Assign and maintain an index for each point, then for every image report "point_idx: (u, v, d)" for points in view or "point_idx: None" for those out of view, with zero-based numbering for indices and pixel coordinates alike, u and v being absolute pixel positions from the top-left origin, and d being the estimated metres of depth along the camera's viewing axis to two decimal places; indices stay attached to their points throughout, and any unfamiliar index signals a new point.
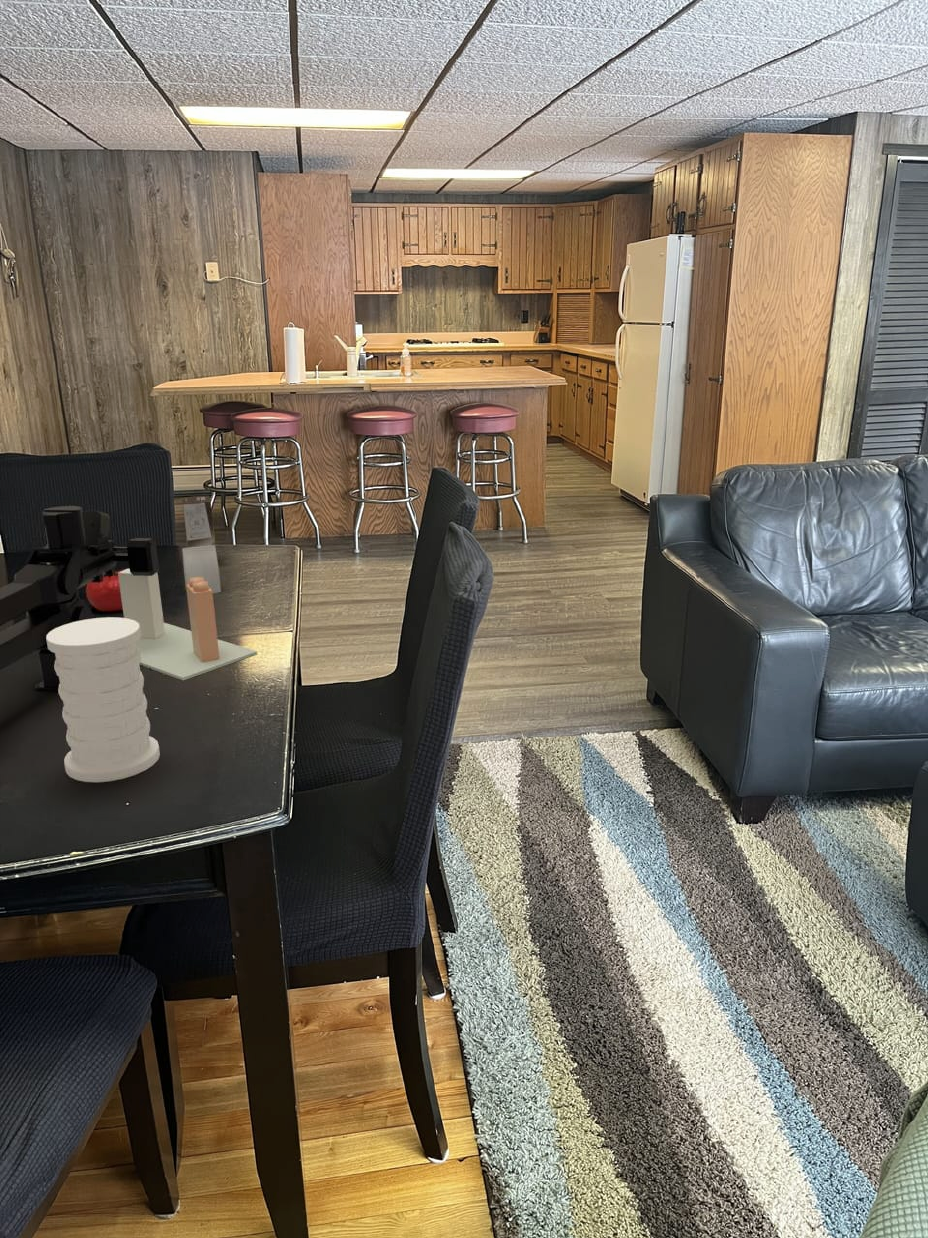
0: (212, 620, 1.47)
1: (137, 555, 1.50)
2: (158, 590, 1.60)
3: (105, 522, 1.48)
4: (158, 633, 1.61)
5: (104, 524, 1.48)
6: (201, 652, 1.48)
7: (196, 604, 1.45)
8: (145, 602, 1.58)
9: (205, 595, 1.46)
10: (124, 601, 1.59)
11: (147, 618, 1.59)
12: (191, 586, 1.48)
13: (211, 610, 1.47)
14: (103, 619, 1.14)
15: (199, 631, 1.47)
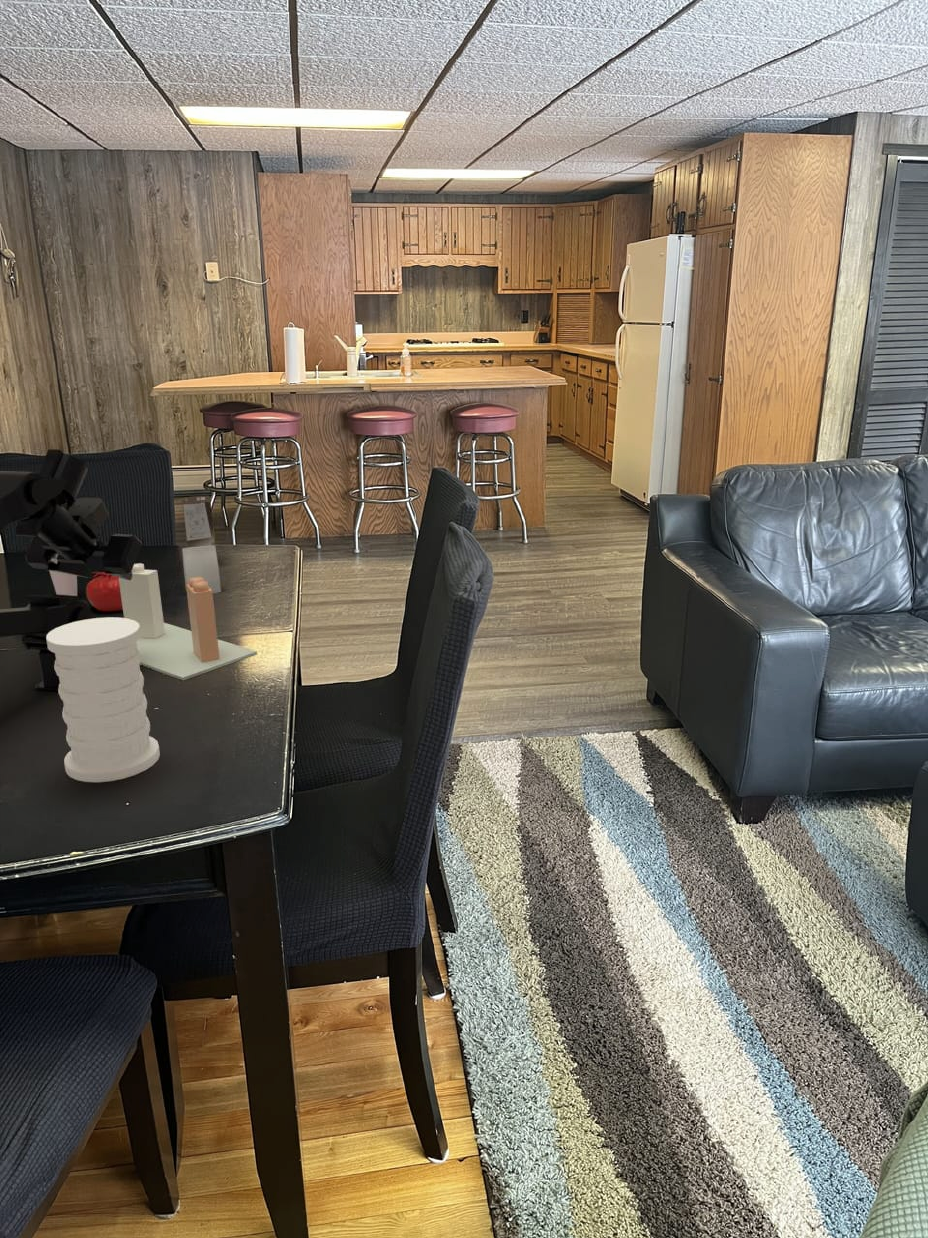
0: (212, 620, 1.47)
1: (117, 543, 1.41)
2: (158, 590, 1.60)
3: (102, 512, 1.44)
4: (158, 633, 1.61)
5: (100, 512, 1.44)
6: (201, 652, 1.48)
7: (196, 604, 1.45)
8: (145, 602, 1.58)
9: (205, 595, 1.46)
10: (124, 601, 1.59)
11: (147, 618, 1.59)
12: (191, 586, 1.48)
13: (211, 610, 1.47)
14: (103, 619, 1.14)
15: (199, 631, 1.47)
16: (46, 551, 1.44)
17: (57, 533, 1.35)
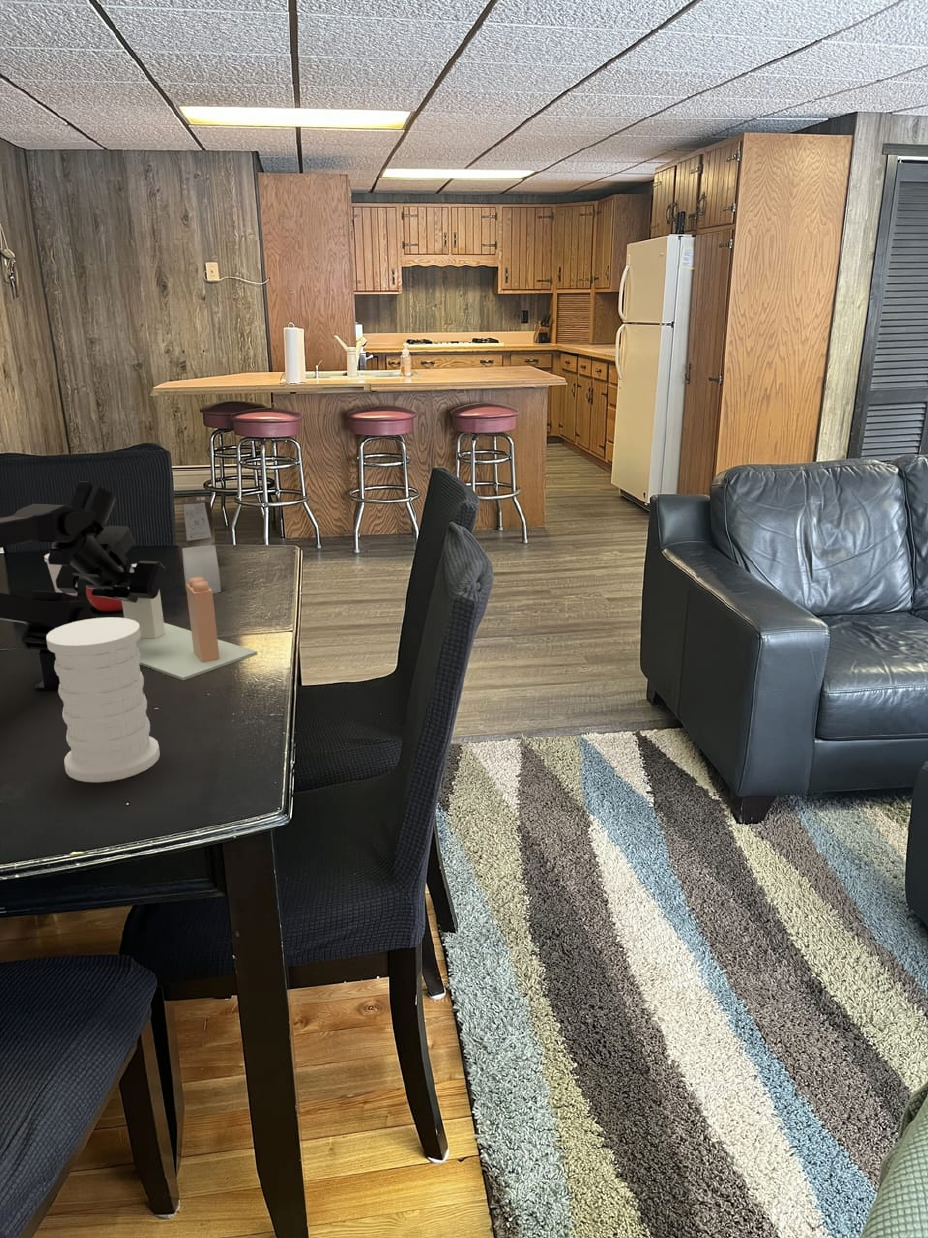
0: (212, 620, 1.47)
1: (143, 570, 1.48)
2: None
3: (128, 539, 1.51)
4: (158, 633, 1.61)
5: (127, 539, 1.51)
6: (201, 652, 1.48)
7: (196, 604, 1.45)
8: (145, 602, 1.58)
9: (205, 595, 1.46)
10: (124, 601, 1.59)
11: (147, 618, 1.59)
12: (191, 586, 1.48)
13: (211, 610, 1.47)
14: (103, 619, 1.14)
15: (199, 631, 1.47)
16: (75, 577, 1.51)
17: (87, 561, 1.42)
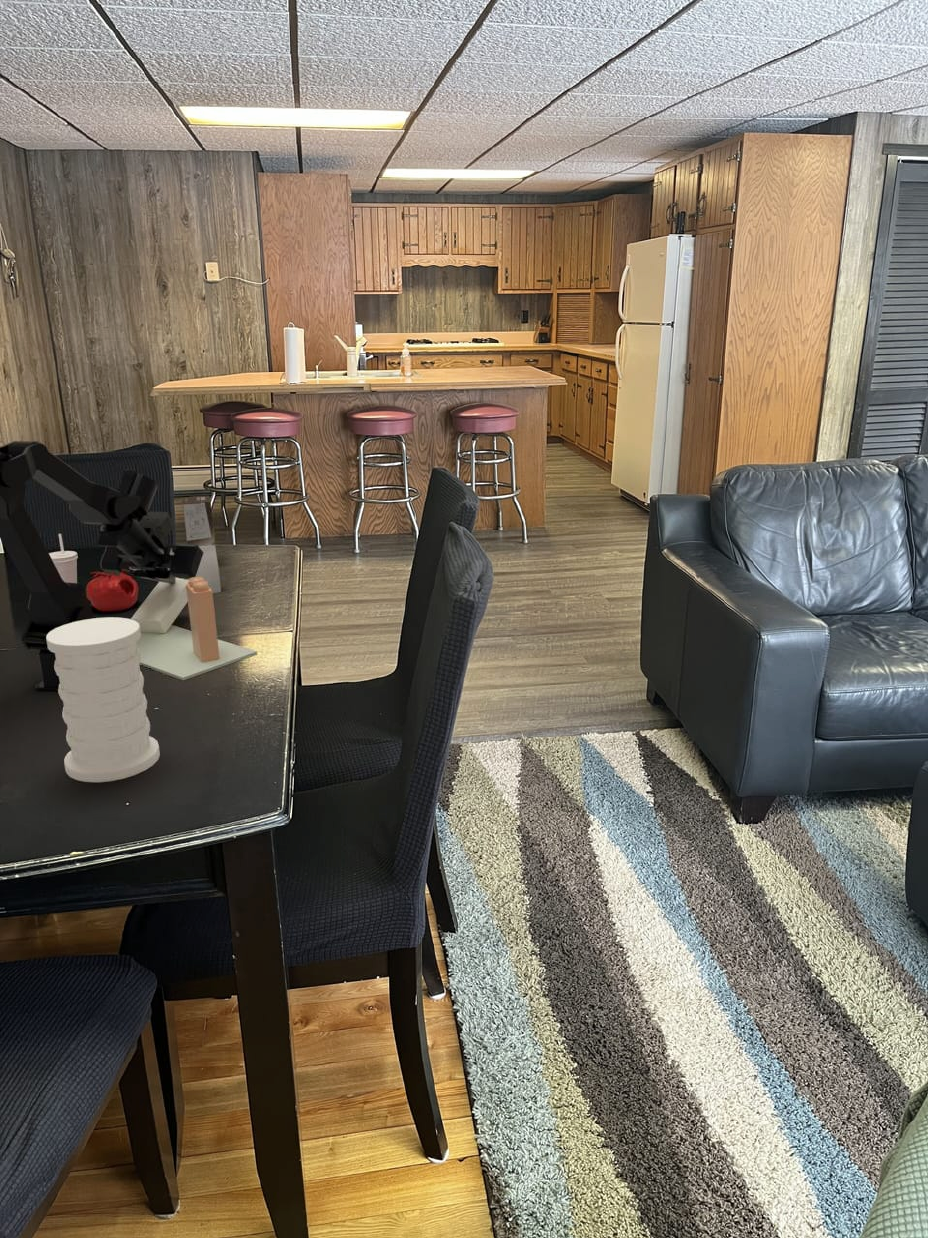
0: (212, 620, 1.47)
1: (183, 552, 1.59)
2: (185, 603, 1.69)
3: (168, 524, 1.63)
4: (163, 622, 1.62)
5: (167, 524, 1.62)
6: (201, 652, 1.48)
7: (196, 604, 1.45)
8: (171, 597, 1.66)
9: (205, 595, 1.46)
10: (151, 596, 1.67)
11: (163, 607, 1.64)
12: (191, 586, 1.48)
13: (211, 610, 1.47)
14: (103, 619, 1.14)
15: (199, 631, 1.47)
16: (119, 559, 1.62)
17: (132, 544, 1.53)
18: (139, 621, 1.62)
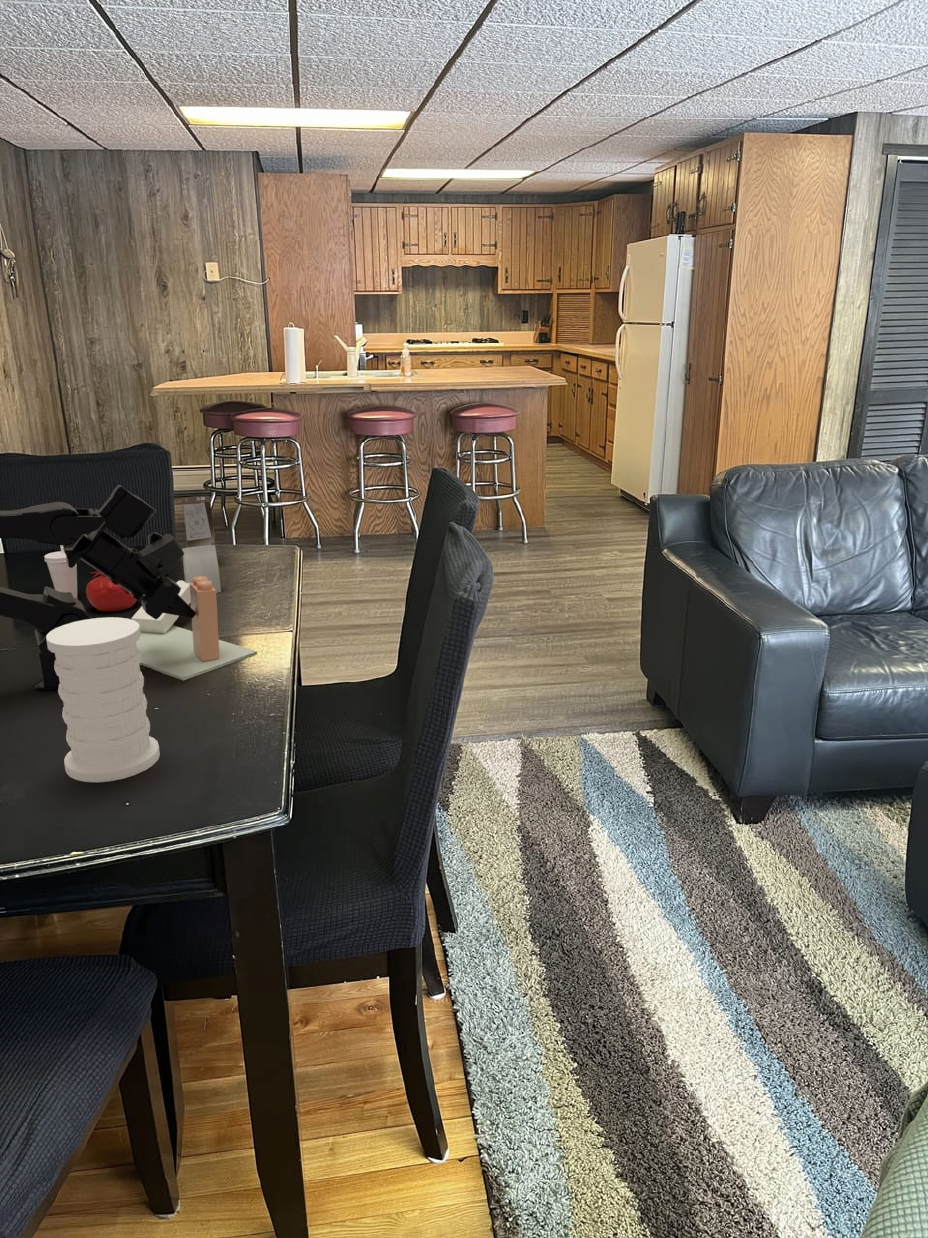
0: (214, 619, 1.48)
1: (155, 587, 1.37)
2: None
3: (170, 552, 1.42)
4: (163, 622, 1.62)
5: (167, 551, 1.42)
6: (201, 651, 1.48)
7: (199, 603, 1.46)
8: None
9: (209, 594, 1.46)
10: None
11: None
12: (195, 585, 1.48)
13: (214, 610, 1.47)
14: (103, 619, 1.14)
15: (201, 630, 1.47)
16: None
17: (100, 567, 1.38)
18: (140, 620, 1.62)
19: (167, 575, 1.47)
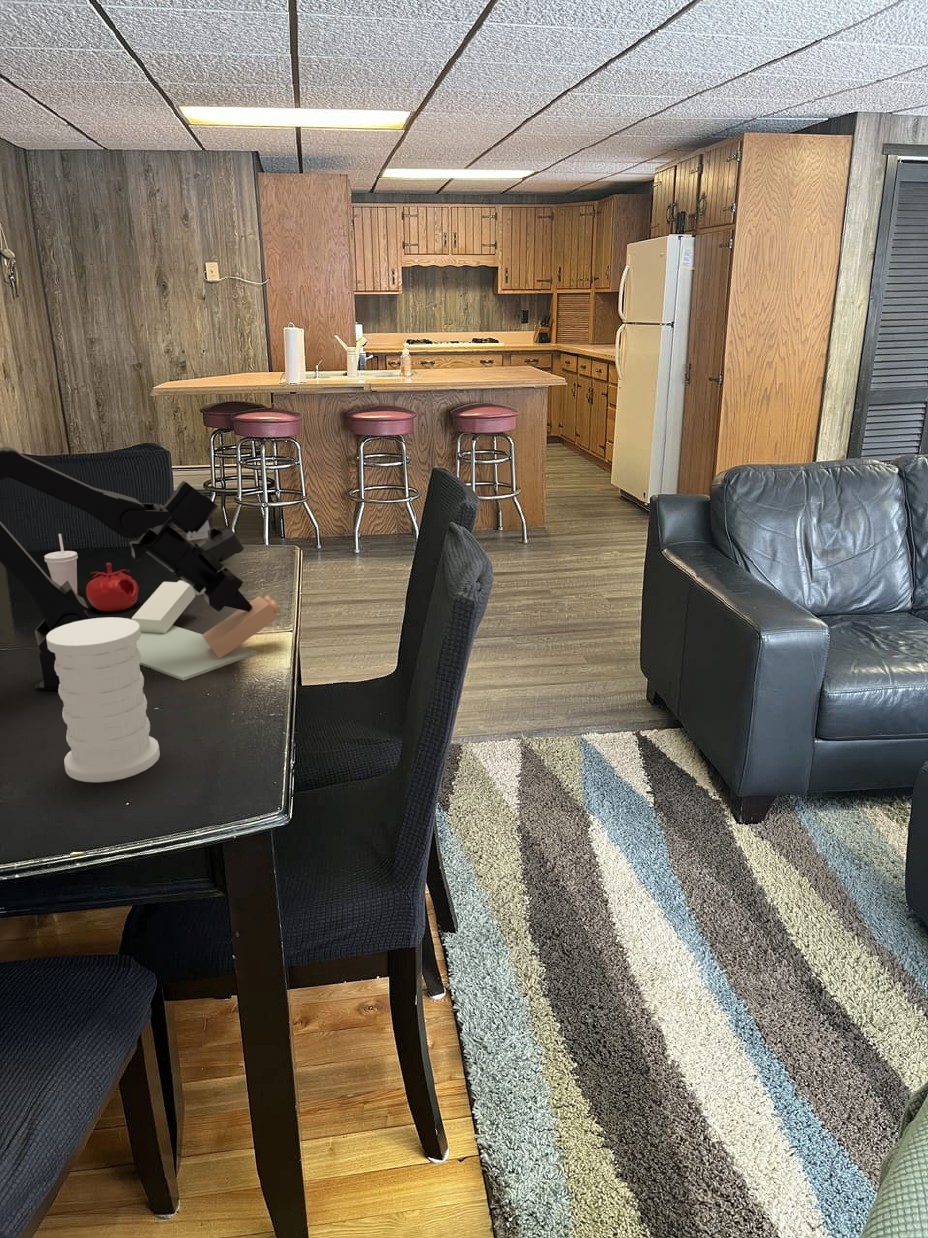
0: (252, 632, 1.51)
1: (217, 580, 1.42)
2: (186, 605, 1.69)
3: (231, 546, 1.46)
4: (163, 622, 1.62)
5: (228, 546, 1.46)
6: (218, 640, 1.49)
7: (260, 611, 1.51)
8: (173, 598, 1.67)
9: (272, 614, 1.52)
10: (152, 597, 1.68)
11: (164, 607, 1.64)
12: (264, 600, 1.55)
13: (260, 626, 1.52)
14: (103, 619, 1.14)
15: (237, 627, 1.50)
16: None
17: (165, 560, 1.42)
18: (140, 620, 1.62)
19: (225, 569, 1.52)
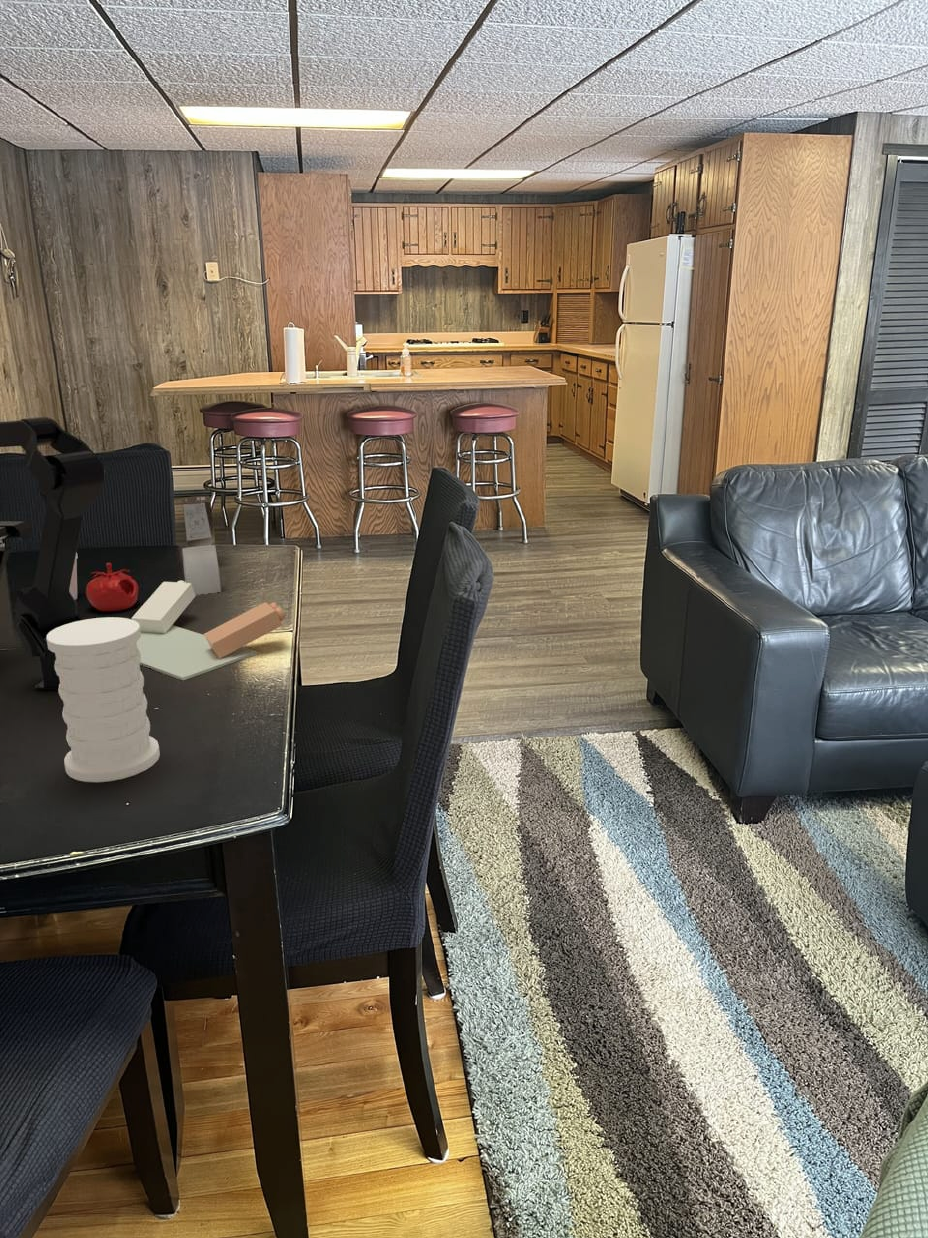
0: (255, 636, 1.52)
1: (3, 523, 1.49)
2: (186, 605, 1.69)
3: None
4: (163, 622, 1.62)
5: None
6: (221, 640, 1.49)
7: (266, 617, 1.52)
8: (173, 598, 1.67)
9: (277, 621, 1.53)
10: (152, 597, 1.68)
11: (164, 607, 1.64)
12: (270, 606, 1.56)
13: (264, 632, 1.52)
14: (103, 619, 1.14)
15: (241, 629, 1.50)
16: None
17: None
18: (140, 620, 1.62)
19: None
